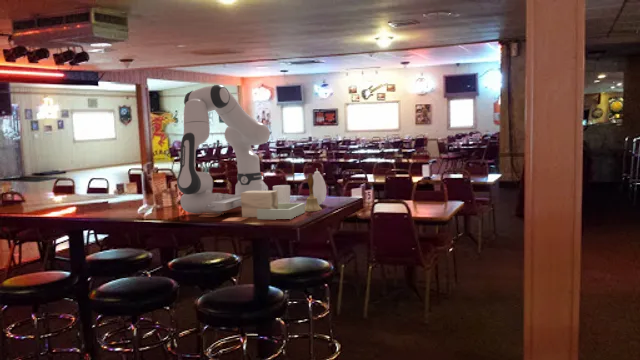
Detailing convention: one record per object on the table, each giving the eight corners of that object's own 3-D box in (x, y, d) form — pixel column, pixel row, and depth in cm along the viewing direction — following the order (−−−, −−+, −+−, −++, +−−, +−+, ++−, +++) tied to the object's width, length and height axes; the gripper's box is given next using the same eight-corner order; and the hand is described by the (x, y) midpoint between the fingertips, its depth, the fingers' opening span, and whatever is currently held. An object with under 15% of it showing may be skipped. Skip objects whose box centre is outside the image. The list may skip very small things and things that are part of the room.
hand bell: (309, 212, 235) (308, 174, 234) (299, 210, 242) (297, 173, 240) (325, 209, 240) (324, 173, 239) (314, 207, 247) (313, 172, 245)
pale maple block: (250, 213, 237) (249, 190, 236) (278, 214, 233) (277, 190, 232) (242, 216, 229) (240, 193, 228) (271, 217, 225) (269, 193, 224)
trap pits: (210, 212, 244) (210, 212, 244) (260, 213, 237) (260, 212, 237) (186, 220, 226) (186, 219, 226) (240, 221, 218) (240, 220, 218)
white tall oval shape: (325, 205, 251) (323, 166, 250) (308, 206, 253) (306, 166, 251) (328, 203, 259) (326, 165, 257) (311, 203, 261) (310, 165, 259)
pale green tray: (274, 212, 239) (273, 202, 239) (304, 212, 235) (304, 203, 234) (257, 219, 222) (256, 209, 222) (289, 219, 218) (289, 209, 217)
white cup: (274, 209, 246) (273, 187, 245) (272, 207, 254) (271, 185, 253) (292, 208, 248) (291, 186, 247) (289, 206, 255) (288, 184, 254)
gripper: (203, 199, 227) (234, 199, 223) (226, 193, 246) (255, 193, 242) (204, 214, 227) (234, 215, 223) (227, 206, 247) (255, 207, 243)
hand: (245, 203), depth 233 cm, fingers closed, pressing on pale maple block
